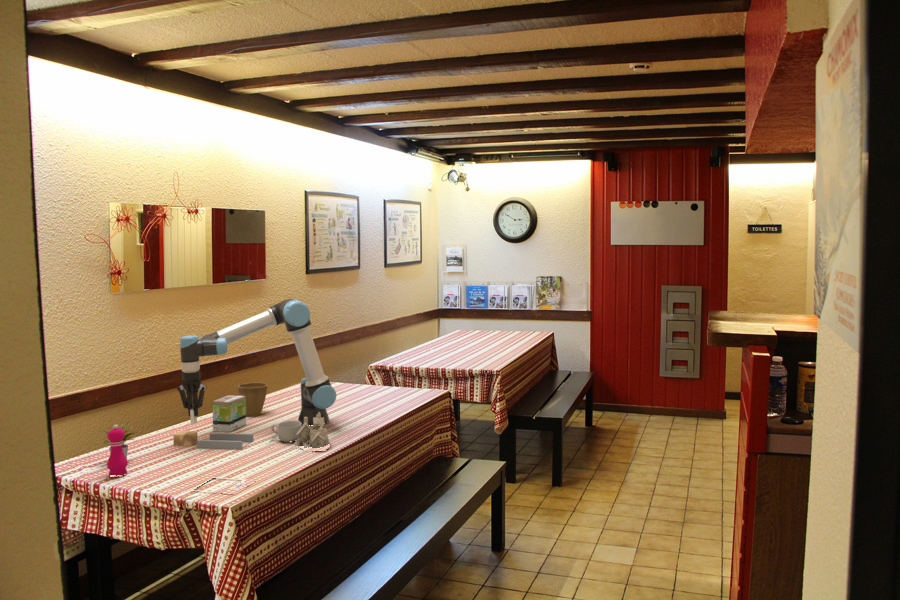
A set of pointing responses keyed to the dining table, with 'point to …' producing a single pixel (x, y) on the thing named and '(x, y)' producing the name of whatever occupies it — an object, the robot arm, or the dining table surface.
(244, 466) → the dining table surface
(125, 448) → the house plant
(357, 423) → the dining table surface
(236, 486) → the clear plastic bag
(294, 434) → the teacup
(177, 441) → the wood block
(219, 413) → the tea box
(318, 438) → the ceramic cottage
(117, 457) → the pepper mill
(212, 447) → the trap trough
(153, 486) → the dining table surface
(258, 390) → the plant pot
